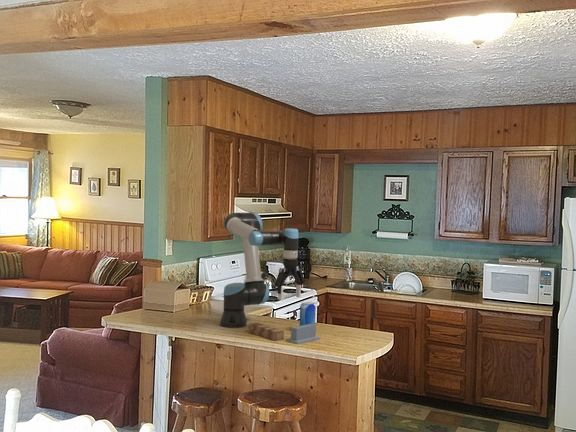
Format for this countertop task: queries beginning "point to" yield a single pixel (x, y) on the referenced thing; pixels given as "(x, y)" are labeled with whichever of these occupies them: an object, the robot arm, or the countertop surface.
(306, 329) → the fulcrum block
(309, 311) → the beer can
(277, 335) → the walnut bar
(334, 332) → the countertop surface
